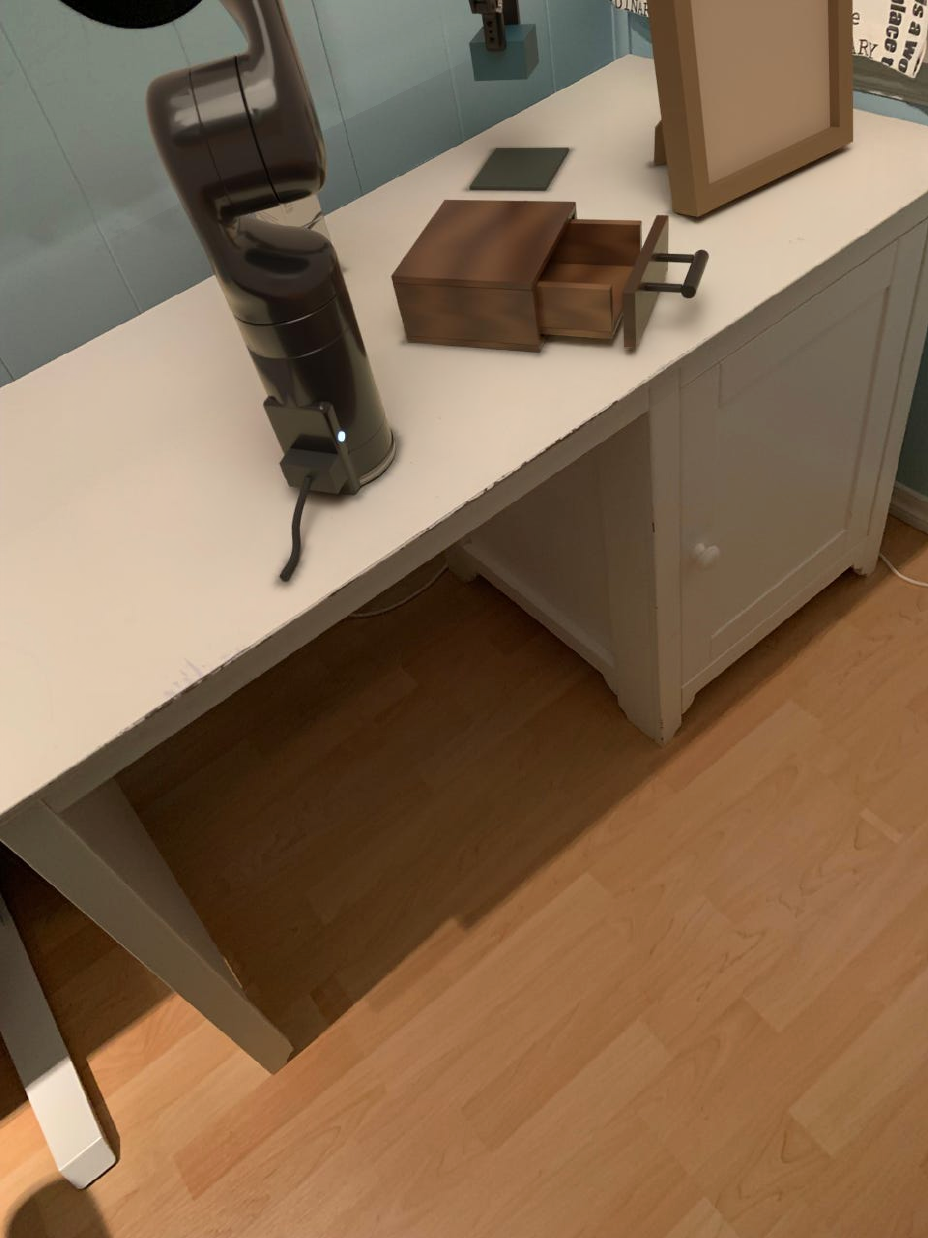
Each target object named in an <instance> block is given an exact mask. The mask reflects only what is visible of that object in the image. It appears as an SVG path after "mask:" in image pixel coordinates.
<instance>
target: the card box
mask: <svg viewBox="0 0 928 1238" xmlns="http://www.w3.org/2000/svg"><path fill="white" fill-rule="evenodd" d="M504 27H505V35H506V48H505V49H504V50H503V51H502V52H489V51H488V50H487V49H486V43H485V36H484V28H483V26H481V27H480V28H479V29H478V31H477V32H476V33H475V35H474V36H473V37H472V39H471V40H470V41H469V42H468V47H469V54H470V60H471V66H472V72H473V80H474V82H492V81H493V82H494V81H524V80H526V81H527V80H528V79H529V78H530V77H531V75H532V73H533V72H534V70H535V69H536V68H537V67H538V64H539V63H540V56H539V46H538V36H537V25H536V23H525V24H524V23H521V24H519V25H504Z"/></svg>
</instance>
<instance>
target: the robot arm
mask: <svg viewBox="0 0 928 1238" xmlns="http://www.w3.org/2000/svg"><path fill="white" fill-rule="evenodd" d="M218 1H219V3H220V4H221V5H222V6H223V7H224V9H225V10H226V12H227V13H228V15H229V16H230V17H231V19H232V20H233V21H234V23H235V24H236V26H237V27H238V29H239V31H240V33H241V34H242V36H243V38H244V39H245V42H246V43H247V45H248V46H247V49H246V50H245V51H243V52H239V53H237V54H232V55H229V56H225V57H222V58H217V59H214V60H213V59H212V60H210V61H207V62H202V63H199V64H195V65H192V66H187V67H184V68H180V69H177V70H173V71H170V72H167V73H164V74H161V75H158V76H156V77H154V78H153V79H152V80H151V81H150V82H149V83H148V85H147V88H146V92H145V100H144V101H145V102H144V103H145V115H146V120H147V125H148V129H149V133H150V136H151V138H152V142H153V144H154V147H155V150H156V152H157V155H158V158H159V160H160V163H161V164H162V167H163V169H164V171H165V174H166V175H167V178H168V180H169V183H170V185H171V187H172V188H173V190H174V193H175V195H176V196H177V198H178V201H179V202H180V204H181V206H182V208H183V210H184V212H185V215H186V216H187V218H188V220H189V222H190V224H191V227H192V228H193V230H194V232H195V234H196V236H197V239H198V241H199V243H200V245H201V247H202V249H203V251H204V254H205V256H206V258H207V260H208V262H209V265H210V267H211V269H212V272H213V274H214V276H215V278H216V280H217V283H218V285H219V287H220V289H221V291H222V293H223V295H224V298H225V300H226V302H227V304H228V308H229V310H230V311H231V313H232V316H233V318H234V320H235V323H236V326H237V328H238V330H239V333H240V334H241V337H242V340H243V342H244V345H245V347H246V350H247V351H248V353H249V356H250V359H251V361H252V363H253V365H254V368H255V370H256V372H257V375H258V377H259V380H260V382H261V384H262V386H263V389H264V391H265V393H266V398H265V399H264V400H263V403H262V407H263V410H264V412H265V415H266V417H267V419H268V421H269V423H270V425H271V427H272V430H273V433H274V435H275V437H276V439H277V441H278V444H279V446H280V449H281V451H282V453H283V457H282V458H281V460H280V461H279V463H278V464H279V468H280V469H281V471H282V474H283V476H284V478H285V481H286V482H287V485H288V487H289V488H295V489H296V488H297V489H300V490H299V494H298V497H297V500H296V503H295V506H294V510H293V513H292V514H293V515H292V521H291V545H292V546H291V552H290V556H289V558H288V561H287V563H286V564H285V566H284V567H283V569H282V571H281V572H280V574H279V577H278V578H279V579H281V580H282V581H287V580H288V579H289V577H290V576H291V573H292V572H293V570H294V569H295V567H296V565H297V563H298V560H299V558H300V555H301V548H302V547H301V546H302V544H301V543H302V540H301V522H302V518H303V517H302V516H303V512H304V508H305V505H306V502H307V498H308V495H309V493H310V491H315V492H322V493H329V494H334V495H335V494H336V495H338V494H339V493H343V494H352V495H354V494H356V493H357V492H358V491H359V489H360V488H361V486H363V485H365V484H367V483H369V482H371V481H373V480H374V479H376V478H377V477H378V476H380V475H381V474H382V473H383V472H384V471H385V470H386V469H387V468H388V467H389V466H390V464H391V462H392V461H393V459H394V457H395V455H396V448H397V446H396V440H395V437H394V434H393V431H392V429H391V428H390V424H389V420H388V418H387V414H386V411H385V408H384V405H383V402H382V398H381V395H380V392H379V388H378V384H377V381H376V379H375V375H374V372H373V369H372V365H371V362H370V359H369V355H368V353H367V349H366V345H365V341H364V339H363V335H362V332H361V329H360V326H359V322H358V319H357V316H356V313H355V309H354V306H353V301H352V299H351V296H350V292H349V290H348V286H347V282H346V279H345V276H344V272H343V270H342V266H341V262H340V260H339V256H338V253H337V251H336V248H335V247H334V244H333V242H332V243H331V242H330V241H329V240H328V239H327V238H326V237H325V236H324V235H322V234H320V233H318V232H316V231H314V230H311V229H307V228H302V227H295V226H286V225H279V224H274V223H269V222H266V221H263V220H260V219H257V218H256V216H255V217H254V216H252V215H250V214H255V213H254V212H258V211H262V210H265V209H269V208H273V207H277V206H281V205H282V204H283V205H285V204H289V203H292V202H296V201H299V200H303V199H306V198H308V197H311V196H313V195H315V194H316V195H317V194H319V193H320V192H321V191H322V190H323V189H324V187H325V184H326V181H327V174H328V162H327V152H326V146H325V140H324V136H323V131H322V127H321V124H320V120H319V116H318V112H317V109H316V105H315V101H314V98H313V95H312V91H311V88H310V84H309V82H308V79H307V75H306V73H305V72H306V71H305V69H304V66H303V62H302V60H301V56H300V53H299V50H298V46H297V44H296V40H295V37H294V34H293V30H292V27H291V24H290V21H289V17H288V15H287V11H286V9H285V4H284V2H283V0H218ZM468 4H469V8H470V11H471V14H472V15H481V20H482V27H483V28H484V36H485V43H486V49H487V50H488V51H489V52H502V51H503V50H504V49H505V48H506V35H505V27H504V25H519V24H522V21H521V12H520V3H519V0H468ZM332 244H333V245H332Z"/></svg>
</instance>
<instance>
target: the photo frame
mask: <svg viewBox="0 0 928 1238" xmlns="http://www.w3.org/2000/svg"><path fill="white" fill-rule="evenodd" d="M645 1H646V9H647V17H648V23H649V31H650V40H651V47H652V54H653V55H652V56H653V63H654V72H655V81H656V89H657V93H658V95H657V96H658V103H659V110H660V111H659V112H660V118H661V119H660V120H659V122H658V123H657V124H656V125H655V126H654V147H653V165H660V164H666V166H667V174H668V181H669V190H670V197H671V205H672V212H673V213H677V214H682V215H687V216H692V217H698V218H699V217H701V216H702V215H704V214H707V213H709V212H711V211H713V210H715V209H717V208H718V207H721V206H723V205H725V204H727V203H729V202H731V201H733V200H735V199H738V198H739V197H742V196H744V195H745V194H748V193H750V192H753V191H754V190H756V189H758V188H760V187H762V186H764V185H766V184H768V183H771V182H772V181H775V180H777V179H779V178H781V177H783V176H786V175H787V174H790V173H791V172H793V171H796V170H797V169H800V168H802V167H804V166H806V165H808V164H811V163H812V162H814V161H816V160H818V159H820V158H823V157H824V156H826V155H828V154H830V153H832V152H834V151H837V150H839V149H841V148H843V147H845V146H847V145H850V144H852V143H853V142H854V15H853V14H854V13H853V12H854V11H853V10H854V8H853V7H854V6H853V4H854V1H853V0H645Z"/></svg>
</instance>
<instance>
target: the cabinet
mask: <svg viewBox="0 0 928 1238" xmlns="http://www.w3.org/2000/svg"><path fill="white" fill-rule="evenodd" d="M571 219H578V212H577V202H576V201H553V200H552V201H551V200H549V201H548V200H497V199H496V200H494V199H491V200H490V199H489V200H486V199H483V200H482V199H444V200H443V201H442V203H440V206H439V207H438V209H437V210H436V211H435V213H434V214H433V216H432V217H431V219H430V220H429V221H428V223H427V224H426V226H425V227H424V229H423V230H422V231H421V233H420V234H419V235H418V237H417V238H416V239H415V241H414V243H413V244H412V246H410V248H409V250H408V251H407V253H405V255H404V257H403V258H402V260H401V261H400V263H399V264H398V265H397V267H396V268H395V269H394V271H393V273H392V274H391V276H390V277H391V282H392V286H393V290H394V291H393V292H394V294H395V299H396V303H397V306H398V308H399V314H400V318H401V321H402V325H403V329H404V333H405V337H406V340H407V343H415V344H416V343H417V344H427V345H428V344H429V345H439V346H453V347H465V348H466V347H467V348H478V349H490V350H491V349H492V350H504V351H515V352H516V351H517V352H531V353H541V351H542V349H543V347H544V345H545V344H546V342H547V339H548V338H549V335H550V334H541V333H540V325H539V316H538V308H537V300H536V291H535V284H536V282H537V281H538V279H539V277H540V275H541V273H542V271H543V270H544V268H545V266H546V264H547V262H548V260H549V258H550V257H551V255H552V253H553V251H554V249H555V247H556V246H557V244H558V242H559V240H560V238H561V236H562V234H563V233H564V231H565V229H566V227H567V225H568V223H569V222H570V220H571Z"/></svg>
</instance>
